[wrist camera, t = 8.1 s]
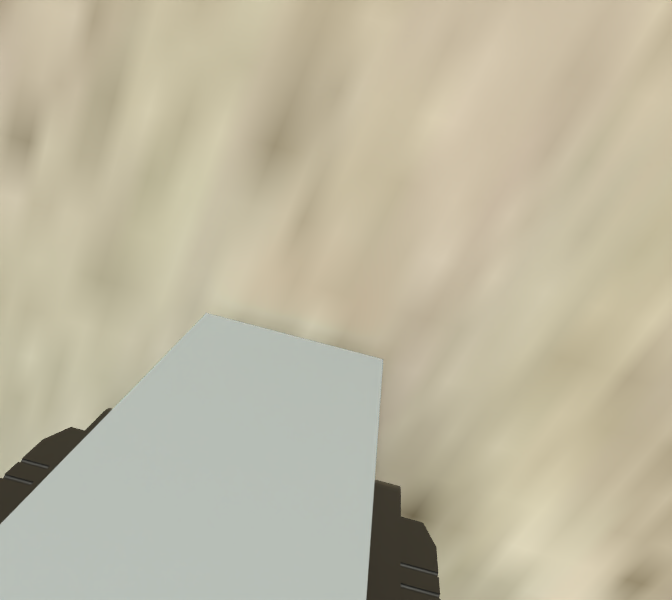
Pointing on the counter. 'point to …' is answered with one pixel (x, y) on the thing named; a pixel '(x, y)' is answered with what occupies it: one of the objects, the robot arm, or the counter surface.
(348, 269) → the counter surface
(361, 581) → the mallet tool
